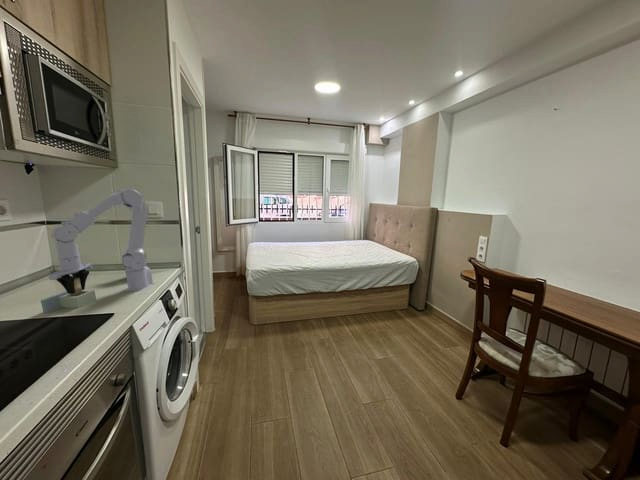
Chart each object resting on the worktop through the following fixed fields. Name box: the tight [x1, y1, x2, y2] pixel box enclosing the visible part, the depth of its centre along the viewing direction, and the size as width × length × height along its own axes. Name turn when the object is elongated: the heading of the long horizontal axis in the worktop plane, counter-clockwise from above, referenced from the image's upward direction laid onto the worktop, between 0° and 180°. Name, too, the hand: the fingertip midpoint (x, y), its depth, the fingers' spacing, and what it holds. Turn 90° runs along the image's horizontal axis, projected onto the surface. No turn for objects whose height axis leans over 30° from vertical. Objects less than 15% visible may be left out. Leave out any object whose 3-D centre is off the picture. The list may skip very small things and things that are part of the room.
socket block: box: [59, 289, 97, 309], centre depth 99 cm, size 7×7×4 cm
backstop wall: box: [40, 290, 68, 314], centre depth 98 cm, size 14×2×5 cm, turn 176°
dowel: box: [71, 278, 83, 296], centre depth 98 cm, size 3×3×7 cm
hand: (76, 291), depth 98 cm, fingers closed on dowel, 3 cm apart
